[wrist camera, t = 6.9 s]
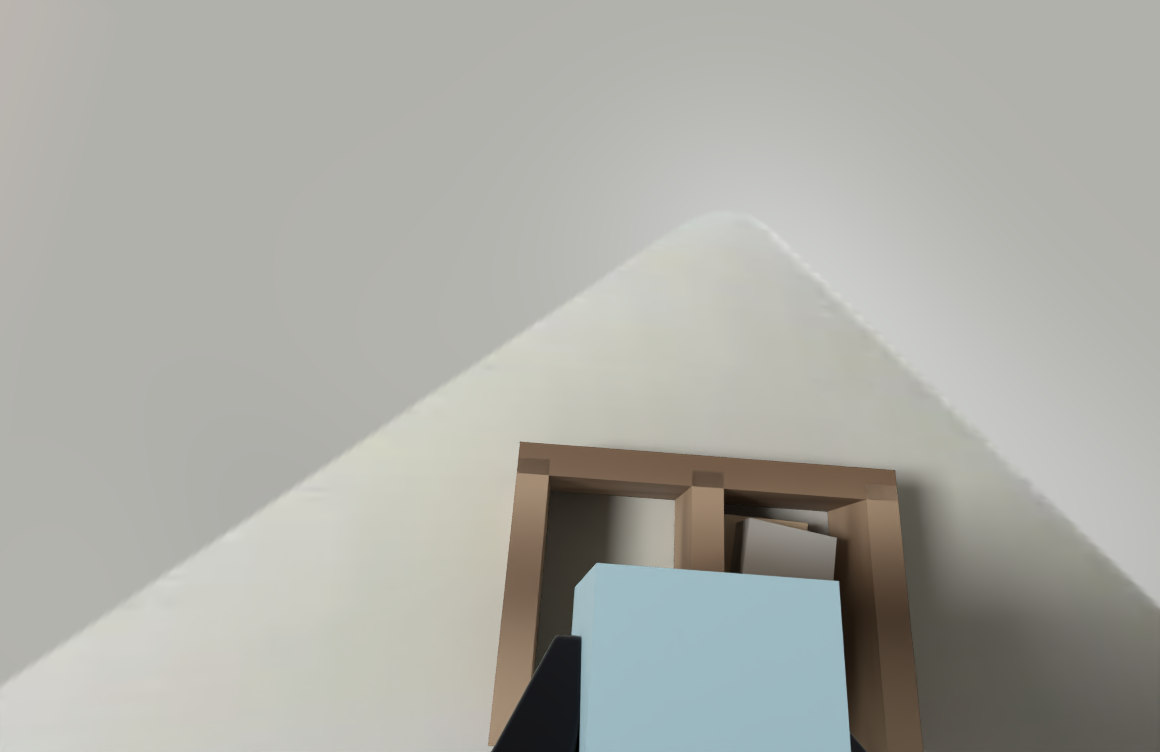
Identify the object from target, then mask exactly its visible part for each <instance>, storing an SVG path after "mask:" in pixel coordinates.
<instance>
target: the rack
mask: <svg viewBox="0 0 1160 752" xmlns="http://www.w3.org/2000/svg"><path fill="white" fill-rule="evenodd" d="M550 491H562V492H575V493H588V494H601V495H614V496H628V497H641V498H654V499H667V500H675V539H674V569H685V570H698V571H711V572H724V504H733V505H746V506H760V507H773V508H786V509H799V510H812V511H826V512H828V525H829V536H831V537H835V538H837V542H836V554H835V566H834V579H833V581H839V590H840V604H841V618H842V632H843V647H844V661H845V675H846V689H847V703H848V717H849V731H850V732H851V733H852V734H853V736H854V737H855V738H856V739H857V740H858V742H859V743H860V744H861V745H862V746H863V747H864V749H865V750H866V751H867V752H924V751H923V742H922V732H921V722H920V712H919V702H918V692H917V682H916V673H915V663H914V653H913V643H912V633H911V623H910V613H909V604H908V594H907V584H906V574H905V564H904V554H903V544H902V534H901V525H900V515H899V505H898V495H897V485H896V475H895V470H885V469H872V468H859V467H845V466H832V465H819V464H806V463H793V462H780V461H766V460H753V459H740V458H727V457H714V456H701V455H688V454H674V453H661V452H648V451H635V450H622V449H609V448H596V447H582V446H569V445H556V444H543V443H530V442H520V449H519V458H518V468H517V477H516V486H515V496H514V505H513V515H512V524H511V534H510V543H509V553H508V562H507V572H506V581H505V591H504V600H503V610H502V619H501V629H500V638H499V647H498V657H497V666H496V676H495V685H494V695H493V704H492V714H491V723H490V733H489V742H488V746H495V744H496V742H497V740H498V739H499V737H500V735H501V733H502V731H503V729H504V728H505V726H506V724H507V722H508V720H509V718H510V717H511V715H512V713H513V711H514V709H515V707H516V706H517V704H518V702H519V700H520V698H521V697H522V695H523V693H524V691H525V689H526V687H527V686H528V684H529V682H530V680H531V678H532V676H533V675H534V673H535V662H536V650H537V638H538V627H539V615H540V604H541V592H542V581H543V569H544V558H545V546H546V534H547V523H548V511H549V500H550Z"/></svg>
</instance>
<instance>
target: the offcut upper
mask: <svg viewBox="0 0 1160 752" xmlns="http://www.w3.org/2000/svg"><path fill="white" fill-rule="evenodd" d="M836 542H837V538H835V537H831V536H827V535H822V534H818V533H814V532H809V531H805V530H801V529H796V528H792V527H788V526H784V525H779V524H775V523H771V522H766V521H762V520H758V519H753V518H748V519H745V520H742V521H740V522H737V523H736V530H735V538H734V545H733V552H732V560H731V567H730V573H738V574H751V575H764V576H777V577H791V578H804V579H817V580H830V581H833V579H834V566H835V554H836Z"/></svg>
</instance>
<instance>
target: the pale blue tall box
mask: <svg viewBox="0 0 1160 752" xmlns="http://www.w3.org/2000/svg"><path fill="white" fill-rule="evenodd" d="M572 635H577V636H581V637H582V648H581V700H580V730H579V739H578V749H577V752H851V745H850V731H849V717H848V703H847V689H846V675H845V661H844V647H843V632H842V618H841V604H840V590H839V581H830V580H817V579H804V578H791V577H777V576H764V575H751V574H738V573H725V572H711V571H698V570H685V569H672V568H659V567H645V566H632V565H619V564H606V563H596V564H595V565H594V566H593V567H592V569H591V570H590V571H589V572H588V573H587V574H586V575H585V576H584V578H583V579H582V580H581V581H580V582H579V583H578V584H577V585H576V586H575V592H574V606H573V621H572Z"/></svg>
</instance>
